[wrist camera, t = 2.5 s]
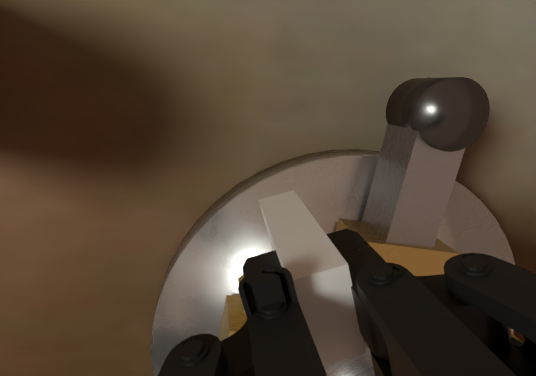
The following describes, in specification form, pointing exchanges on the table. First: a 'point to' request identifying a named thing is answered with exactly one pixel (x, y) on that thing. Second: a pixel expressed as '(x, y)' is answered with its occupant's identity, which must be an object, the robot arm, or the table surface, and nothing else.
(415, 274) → the ring nut
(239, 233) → the cap base
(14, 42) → the table surface
